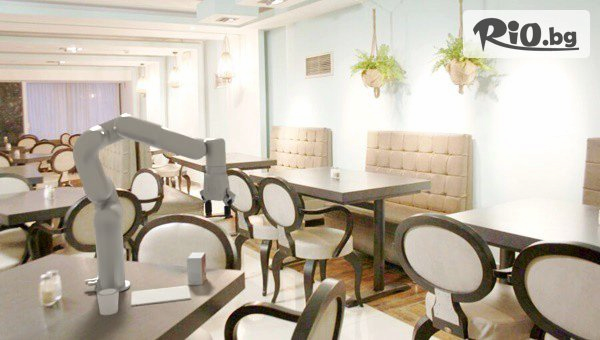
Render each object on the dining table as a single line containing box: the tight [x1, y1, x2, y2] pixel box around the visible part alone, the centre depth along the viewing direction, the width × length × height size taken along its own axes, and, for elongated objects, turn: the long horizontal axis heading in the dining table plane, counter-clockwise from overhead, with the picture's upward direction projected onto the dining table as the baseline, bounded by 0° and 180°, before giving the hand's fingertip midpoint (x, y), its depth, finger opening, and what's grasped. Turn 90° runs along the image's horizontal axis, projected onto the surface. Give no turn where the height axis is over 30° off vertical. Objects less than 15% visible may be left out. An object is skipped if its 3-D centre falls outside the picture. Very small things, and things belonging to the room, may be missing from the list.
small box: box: [186, 251, 207, 286], centre depth 201 cm, size 8×6×10 cm
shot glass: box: [96, 288, 120, 316], centre depth 173 cm, size 7×7×7 cm
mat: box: [130, 284, 192, 307], centre depth 187 cm, size 20×13×1 cm, turn 107°
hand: (218, 214), depth 202 cm, fingers open, 9 cm apart
